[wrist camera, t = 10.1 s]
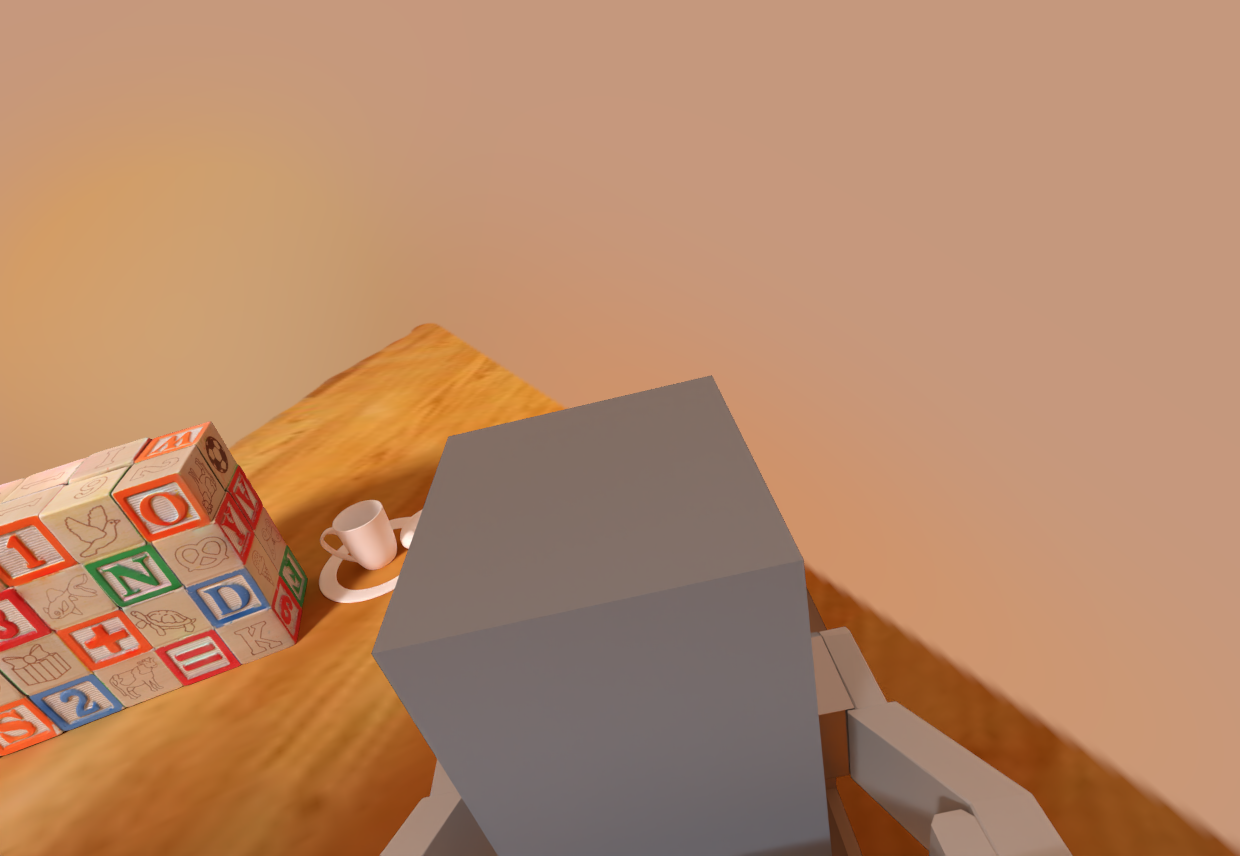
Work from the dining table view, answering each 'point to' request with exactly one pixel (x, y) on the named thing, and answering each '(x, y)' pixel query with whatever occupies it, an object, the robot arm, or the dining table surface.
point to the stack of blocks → (134, 581)
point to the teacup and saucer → (364, 547)
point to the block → (613, 636)
